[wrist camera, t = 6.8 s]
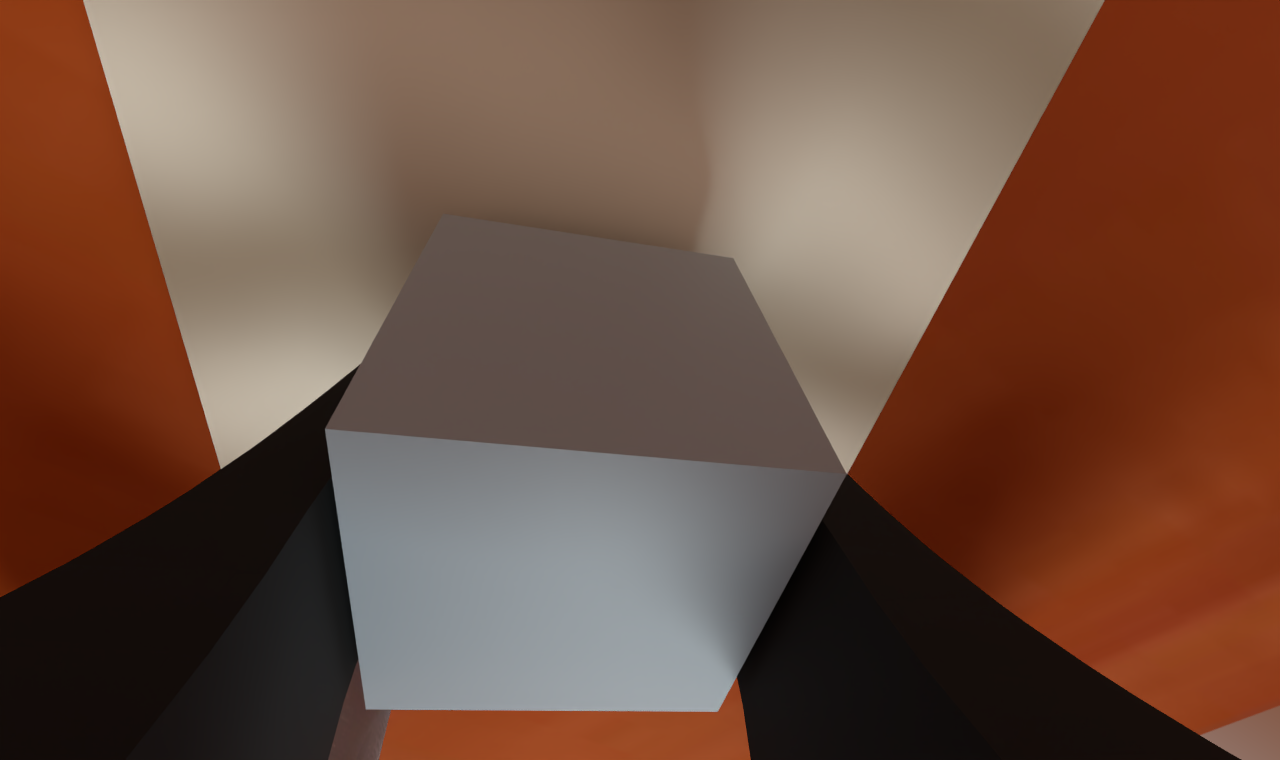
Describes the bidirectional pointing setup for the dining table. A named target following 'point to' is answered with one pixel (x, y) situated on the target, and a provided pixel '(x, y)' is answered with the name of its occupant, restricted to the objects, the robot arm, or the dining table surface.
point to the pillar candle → (358, 726)
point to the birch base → (569, 162)
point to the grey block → (570, 477)
